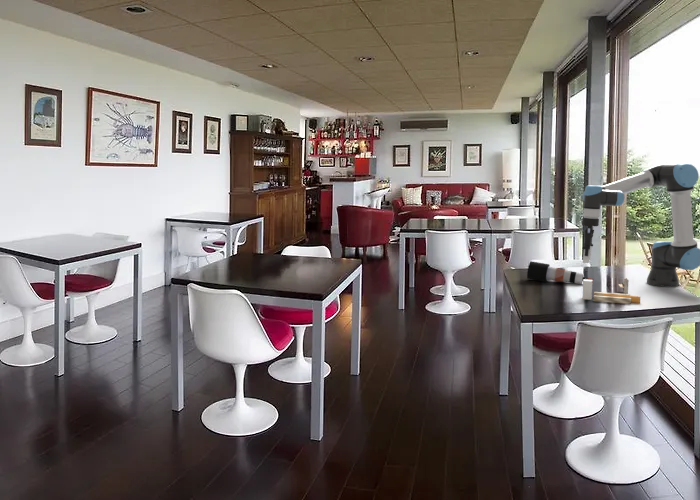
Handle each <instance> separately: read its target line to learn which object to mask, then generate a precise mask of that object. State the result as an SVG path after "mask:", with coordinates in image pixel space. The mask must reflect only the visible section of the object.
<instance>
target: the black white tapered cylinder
mask: <svg viewBox="0 0 700 500" xmlns="http://www.w3.org/2000/svg"><path fill="white" fill-rule="evenodd" d="M526 273H527V274H526V279H528V280H534V281H538V282H544V283H545V282H546V283H547V281H554V282H559V283H560V282H561V283H569V284H578V285H583V280H584V279H588V280H592V284H593V283H594V278H592V277H588V276H587V277H585V275H584V274H585V273H583V272H577V271H572V270H568V269H564V268H558V267H553V266H550V264H549V263H543V262H537V261H532V260H531V261H529V263H528V268H527V272H526Z"/></svg>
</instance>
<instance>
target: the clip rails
mask: <svg viewBox="0 0 700 500" xmlns="http://www.w3.org/2000/svg"><path fill="white" fill-rule="evenodd" d="M603 294H612V295H626V296H631V294H629V293H628V294H624V293H619V292H618V293H617V292H604V291H603V292H600V291H593V302H599V303H601V302H602V303H611V304H612V303H613V304H626V305H631V304H632V303H631V298H624V297H610V296H603Z"/></svg>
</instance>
